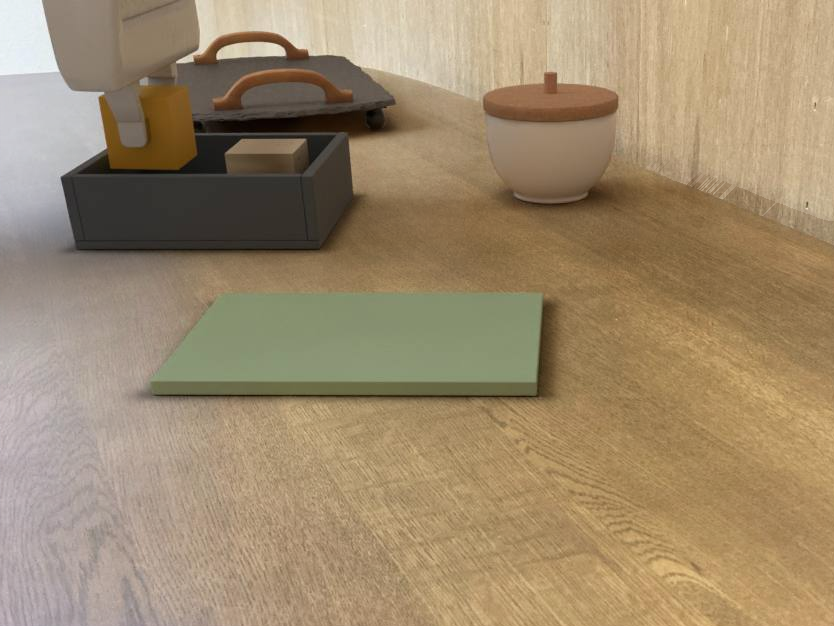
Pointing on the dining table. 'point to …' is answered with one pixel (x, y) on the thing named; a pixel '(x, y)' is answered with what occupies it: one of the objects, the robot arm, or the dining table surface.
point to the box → (211, 200)
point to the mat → (359, 345)
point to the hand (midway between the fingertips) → (151, 136)
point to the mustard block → (155, 131)
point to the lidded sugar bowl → (550, 137)
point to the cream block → (268, 156)
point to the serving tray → (277, 84)
